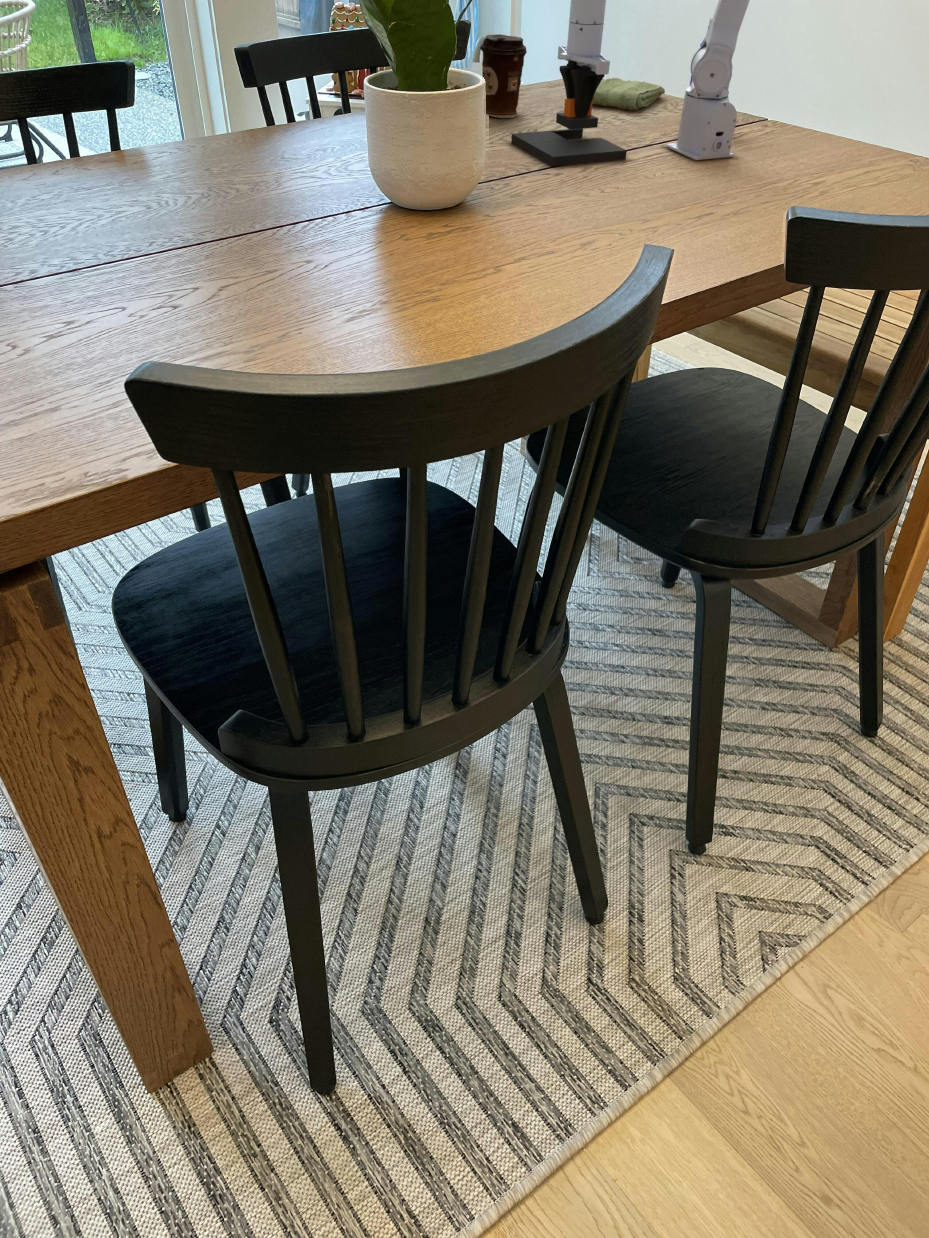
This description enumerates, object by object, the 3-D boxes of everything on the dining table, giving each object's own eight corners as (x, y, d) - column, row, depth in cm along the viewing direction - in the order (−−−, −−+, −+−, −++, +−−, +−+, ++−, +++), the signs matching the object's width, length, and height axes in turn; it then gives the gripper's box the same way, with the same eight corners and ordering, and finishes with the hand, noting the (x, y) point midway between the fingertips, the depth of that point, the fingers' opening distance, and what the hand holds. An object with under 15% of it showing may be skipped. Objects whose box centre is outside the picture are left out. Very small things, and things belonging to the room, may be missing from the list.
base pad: (625, 160, 156) (627, 150, 155) (552, 166, 152) (553, 157, 151) (580, 137, 167) (581, 128, 166) (511, 143, 163) (511, 133, 162)
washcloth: (666, 97, 195) (669, 80, 193) (638, 113, 183) (641, 95, 181) (608, 90, 199) (610, 73, 197) (577, 105, 187) (579, 87, 185)
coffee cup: (484, 121, 175) (487, 41, 166) (472, 111, 181) (474, 33, 172) (528, 119, 177) (532, 40, 168) (514, 109, 183) (518, 32, 174)
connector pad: (597, 127, 160) (600, 102, 158) (570, 129, 159) (572, 103, 156) (582, 120, 164) (585, 95, 162) (555, 122, 162) (557, 97, 160)
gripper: (544, 16, 155) (538, 106, 164) (586, 30, 145) (577, 125, 154) (581, 15, 158) (573, 104, 166) (624, 28, 147) (613, 122, 156)
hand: (577, 114), depth 160 cm, fingers closed on connector pad, 2 cm apart
